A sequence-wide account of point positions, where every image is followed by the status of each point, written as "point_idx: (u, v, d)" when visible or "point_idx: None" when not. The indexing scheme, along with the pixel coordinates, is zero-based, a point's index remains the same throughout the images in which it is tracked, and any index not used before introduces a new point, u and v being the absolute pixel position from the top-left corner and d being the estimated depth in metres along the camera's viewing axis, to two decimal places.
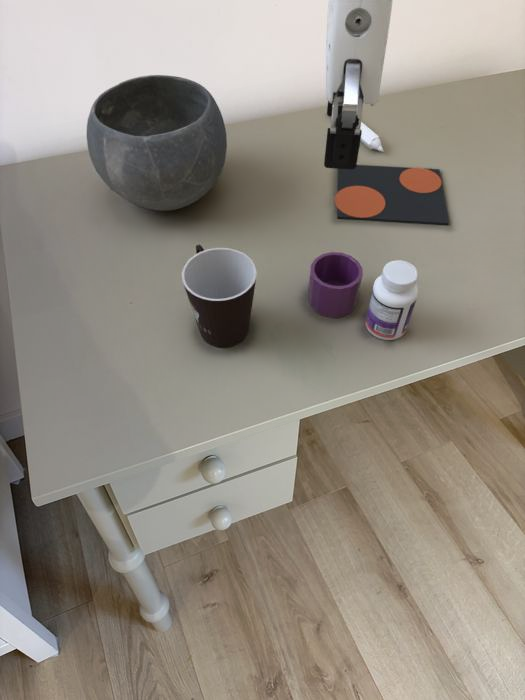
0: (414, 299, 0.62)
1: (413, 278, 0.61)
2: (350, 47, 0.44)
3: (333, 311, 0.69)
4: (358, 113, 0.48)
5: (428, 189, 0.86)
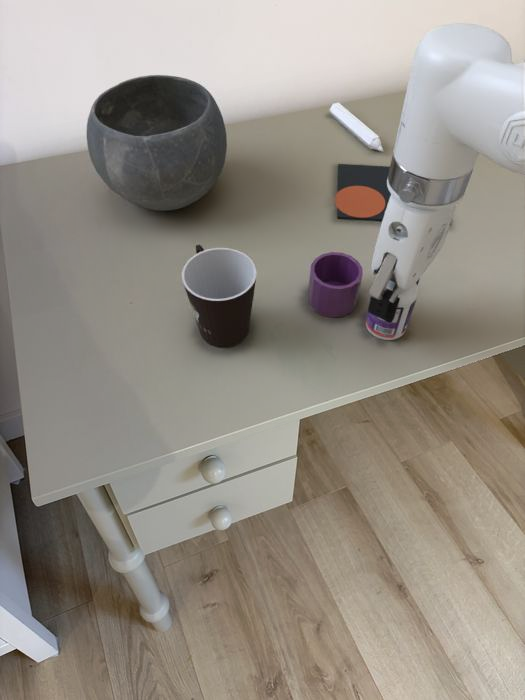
0: (414, 299, 0.62)
1: None
2: (389, 245, 0.53)
3: (333, 311, 0.69)
4: (394, 290, 0.58)
5: None
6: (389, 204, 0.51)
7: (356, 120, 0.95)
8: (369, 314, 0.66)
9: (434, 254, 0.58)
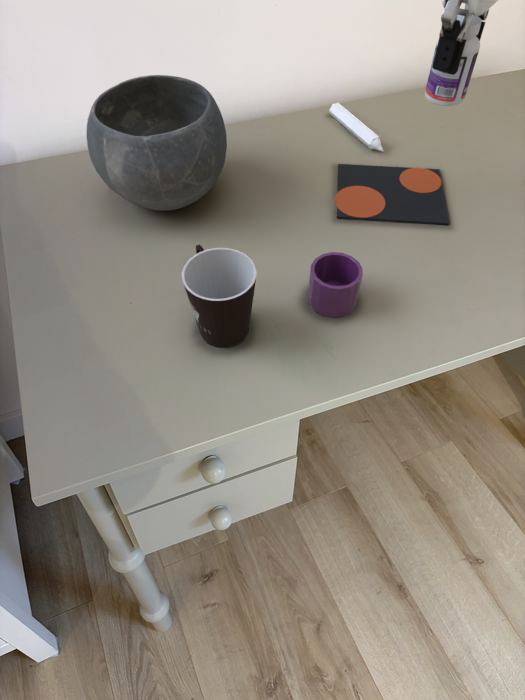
0: (477, 49, 0.66)
1: (477, 22, 0.64)
2: None
3: (333, 311, 0.69)
4: (463, 24, 0.62)
5: (428, 189, 0.86)
6: None
7: (356, 120, 0.95)
8: (430, 78, 0.70)
9: None
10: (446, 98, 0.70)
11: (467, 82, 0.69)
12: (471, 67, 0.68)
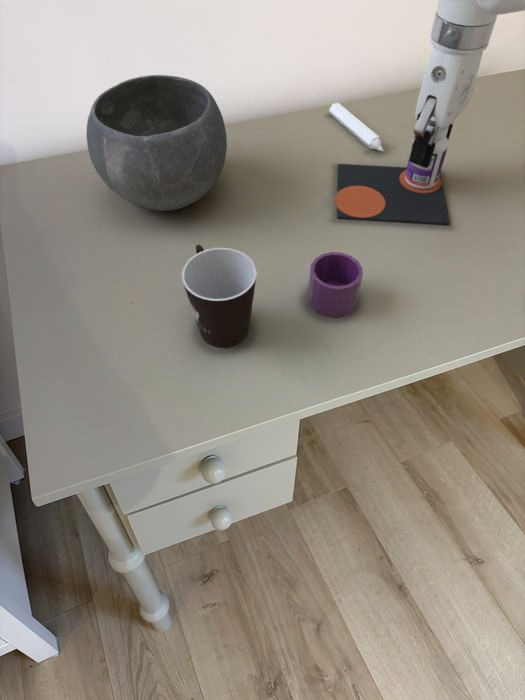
0: (445, 147, 0.80)
1: (445, 128, 0.79)
2: (431, 88, 0.71)
3: (333, 311, 0.69)
4: (432, 133, 0.76)
5: (428, 189, 0.86)
6: (432, 53, 0.69)
7: (356, 120, 0.95)
8: (409, 167, 0.84)
9: (463, 105, 0.76)
10: (421, 183, 0.85)
11: (439, 171, 0.84)
12: (441, 160, 0.82)
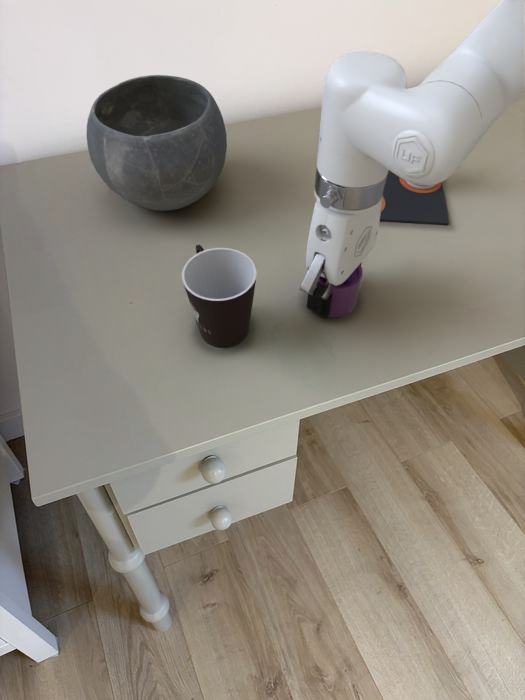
0: None
1: None
2: (318, 245, 0.59)
3: (333, 311, 0.69)
4: (326, 287, 0.64)
5: (428, 189, 0.86)
6: (315, 209, 0.57)
7: None
8: None
9: (363, 253, 0.64)
10: None
11: None
12: None
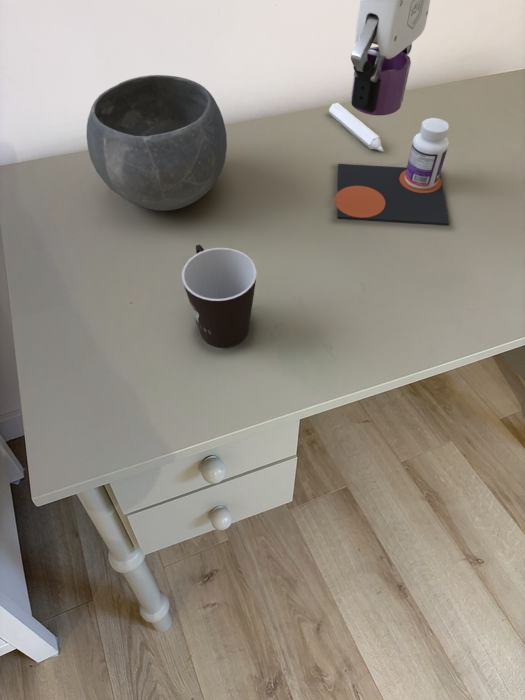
0: (445, 148, 0.80)
1: (445, 128, 0.79)
2: (371, 3, 0.57)
3: (379, 106, 0.67)
4: (375, 64, 0.62)
5: (428, 189, 0.86)
6: None
7: (356, 120, 0.95)
8: (409, 167, 0.85)
9: (414, 31, 0.62)
10: (421, 183, 0.85)
11: (439, 171, 0.84)
12: (441, 161, 0.82)
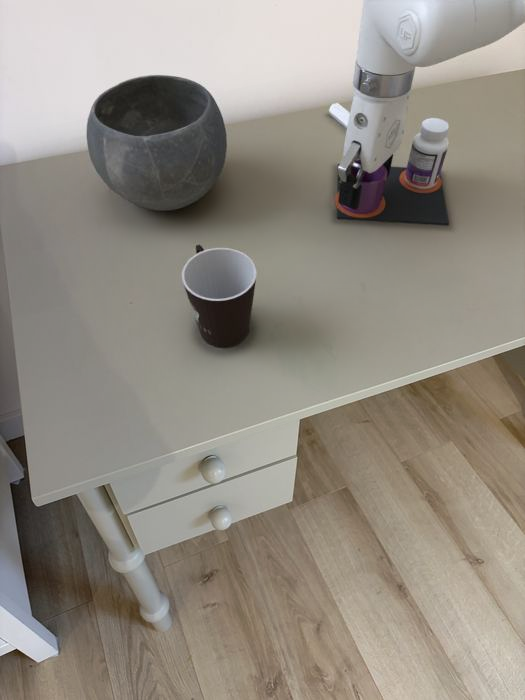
0: (445, 148, 0.80)
1: (445, 128, 0.79)
2: (355, 134, 0.70)
3: (361, 208, 0.81)
4: (358, 174, 0.74)
5: (428, 189, 0.86)
6: (353, 100, 0.68)
7: None
8: (409, 167, 0.85)
9: (392, 148, 0.75)
10: (421, 183, 0.85)
11: (439, 171, 0.84)
12: (441, 161, 0.82)
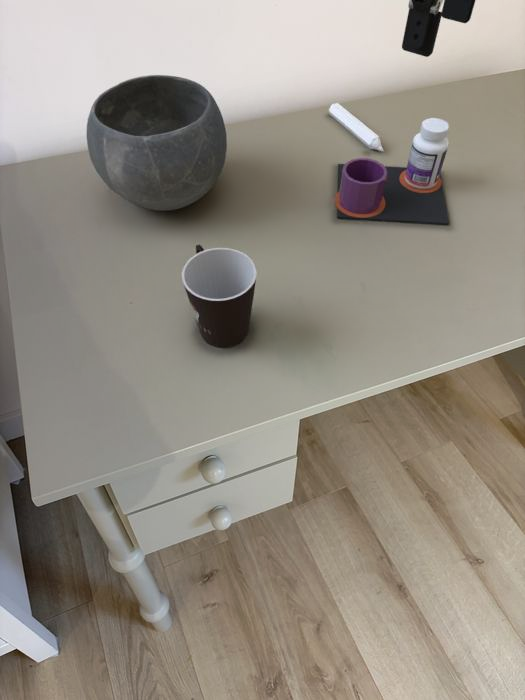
0: (445, 148, 0.80)
1: (445, 128, 0.79)
2: None
3: (361, 208, 0.81)
4: None
5: (428, 189, 0.86)
6: None
7: (356, 120, 0.95)
8: (409, 167, 0.85)
9: None
10: (421, 183, 0.85)
11: (439, 171, 0.84)
12: (441, 161, 0.82)
